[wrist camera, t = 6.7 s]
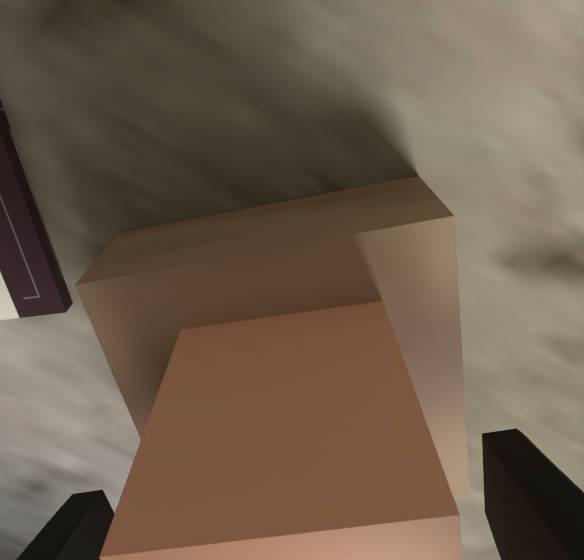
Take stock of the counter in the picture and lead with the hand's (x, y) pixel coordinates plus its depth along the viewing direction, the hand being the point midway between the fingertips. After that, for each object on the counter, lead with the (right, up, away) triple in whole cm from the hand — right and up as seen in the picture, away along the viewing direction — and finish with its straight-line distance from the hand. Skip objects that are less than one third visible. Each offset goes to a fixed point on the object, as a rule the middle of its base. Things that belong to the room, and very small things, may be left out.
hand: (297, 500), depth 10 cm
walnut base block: (0, +3, +6) cm, 6 cm away
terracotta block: (0, +1, +2) cm, 3 cm away
